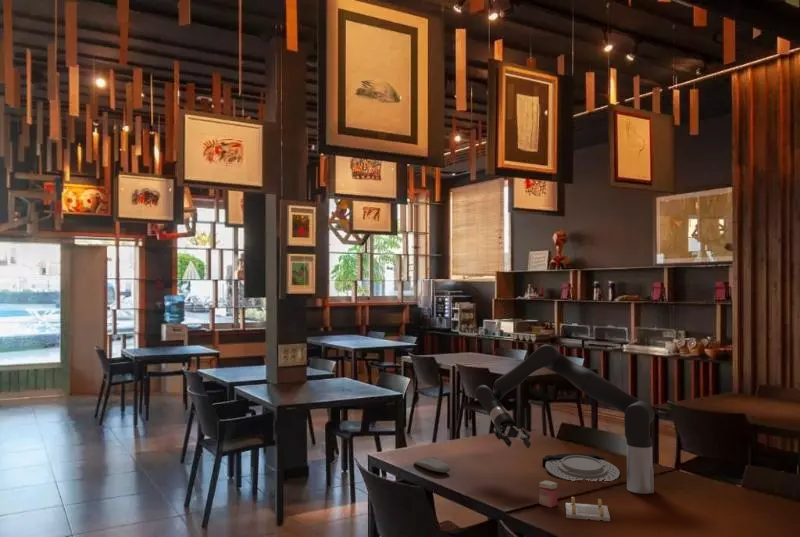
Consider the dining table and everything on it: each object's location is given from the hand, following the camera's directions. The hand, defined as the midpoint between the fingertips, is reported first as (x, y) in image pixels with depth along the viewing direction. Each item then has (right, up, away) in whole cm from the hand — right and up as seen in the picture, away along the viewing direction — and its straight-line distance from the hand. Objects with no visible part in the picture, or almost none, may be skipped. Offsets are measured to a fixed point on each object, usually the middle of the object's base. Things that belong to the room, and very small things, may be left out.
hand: (519, 445), depth 249 cm
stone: (-28, -16, +28) cm, 43 cm away
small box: (+7, -16, -19) cm, 26 cm away
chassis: (+18, -16, -27) cm, 36 cm away
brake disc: (+30, -18, +24) cm, 42 cm away
